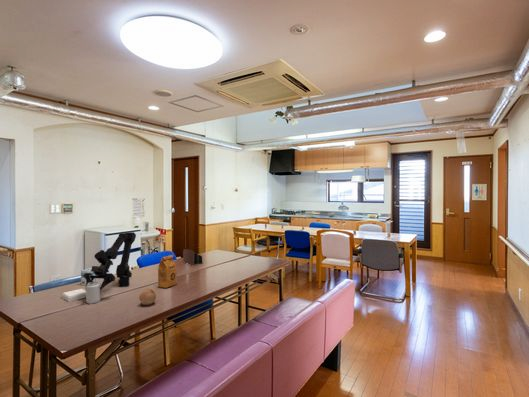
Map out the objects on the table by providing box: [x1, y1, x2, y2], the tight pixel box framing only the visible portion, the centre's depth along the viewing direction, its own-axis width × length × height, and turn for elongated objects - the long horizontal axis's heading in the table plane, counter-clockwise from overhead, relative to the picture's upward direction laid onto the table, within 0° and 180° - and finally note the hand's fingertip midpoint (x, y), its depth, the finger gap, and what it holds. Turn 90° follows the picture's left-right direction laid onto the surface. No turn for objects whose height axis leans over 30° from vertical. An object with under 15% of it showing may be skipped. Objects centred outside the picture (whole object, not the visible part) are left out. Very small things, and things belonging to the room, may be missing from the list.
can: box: [85, 281, 101, 305], centre depth 185 cm, size 8×8×12 cm
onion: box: [138, 288, 157, 306], centre depth 181 cm, size 10×9×10 cm
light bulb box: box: [80, 267, 100, 287], centre depth 224 cm, size 11×7×11 cm, turn 168°
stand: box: [61, 288, 86, 302], centre depth 194 cm, size 12×12×3 cm
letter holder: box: [182, 248, 203, 266], centre depth 289 cm, size 10×20×14 cm, turn 44°
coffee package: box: [157, 254, 178, 289], centre depth 217 cm, size 10×12×22 cm
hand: (93, 289), depth 185 cm, fingers open, 9 cm apart
